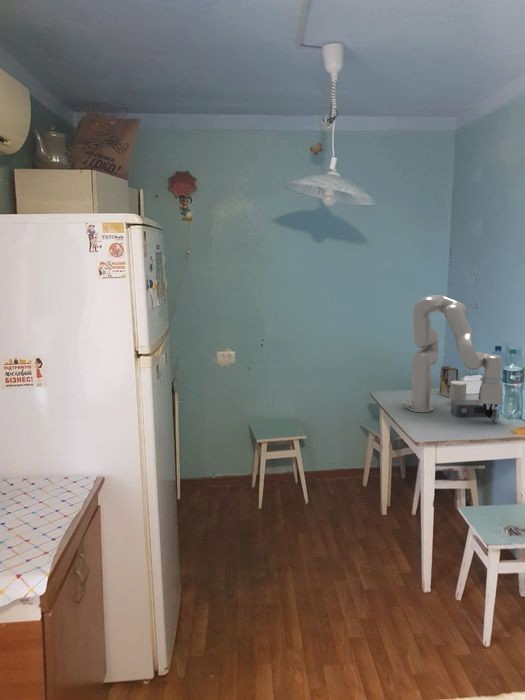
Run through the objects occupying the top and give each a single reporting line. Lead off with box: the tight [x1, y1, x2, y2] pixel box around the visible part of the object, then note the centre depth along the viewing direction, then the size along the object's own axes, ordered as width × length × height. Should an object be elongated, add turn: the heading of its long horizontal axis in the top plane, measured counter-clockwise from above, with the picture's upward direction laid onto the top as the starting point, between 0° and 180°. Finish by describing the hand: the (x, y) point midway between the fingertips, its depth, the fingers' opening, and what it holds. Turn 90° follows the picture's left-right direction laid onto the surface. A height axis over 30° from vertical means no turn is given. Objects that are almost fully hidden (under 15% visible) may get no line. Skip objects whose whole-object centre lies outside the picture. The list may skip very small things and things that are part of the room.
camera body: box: [450, 399, 486, 417], centre depth 267 cm, size 16×11×7 cm, turn 86°
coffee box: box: [439, 365, 459, 398], centre depth 301 cm, size 9×6×16 cm
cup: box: [449, 380, 467, 406], centre depth 284 cm, size 8×8×12 cm
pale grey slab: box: [491, 407, 500, 424], centre depth 257 cm, size 10×2×6 cm, turn 172°
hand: (488, 416), depth 255 cm, fingers closed
